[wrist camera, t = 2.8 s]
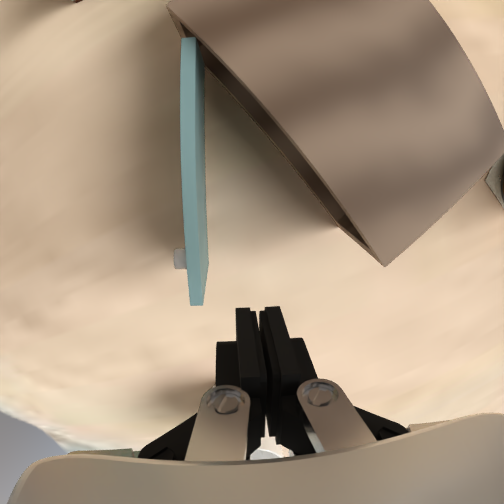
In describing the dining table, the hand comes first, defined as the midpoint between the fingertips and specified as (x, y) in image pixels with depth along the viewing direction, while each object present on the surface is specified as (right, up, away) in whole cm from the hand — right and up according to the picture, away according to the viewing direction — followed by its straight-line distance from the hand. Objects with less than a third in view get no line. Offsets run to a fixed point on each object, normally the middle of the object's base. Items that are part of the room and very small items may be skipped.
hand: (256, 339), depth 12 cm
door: (-5, +10, +11) cm, 16 cm away
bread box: (+6, +17, +11) cm, 21 cm away
